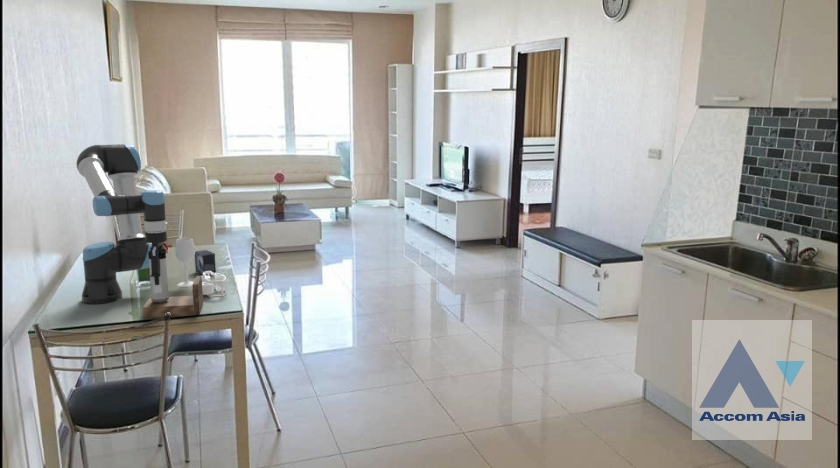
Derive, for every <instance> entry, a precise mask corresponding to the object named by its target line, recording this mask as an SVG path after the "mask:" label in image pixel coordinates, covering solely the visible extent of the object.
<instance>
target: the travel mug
mask: <svg viewBox="0 0 840 468" xmlns="http://www.w3.org/2000/svg"><path fill="white" fill-rule="evenodd" d="M160 255H161V258H160V276H161V284H162V293H154V284H153V277H151V275H152V269H151V254H150V251H148V256H149V267H148V269H149V285H150V298H151V300H152V301H153V302H164V301H167V300H168V299H169V297H170V295H169V281H168V280H169V278H168V265H167V252H166V249H165V248H163V251H162V252H161V253H158V257H159V256H160Z"/></svg>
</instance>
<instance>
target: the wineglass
mask: <svg viewBox="0 0 840 468" xmlns="http://www.w3.org/2000/svg"><path fill="white" fill-rule="evenodd" d="M174 252H175V257H176V259H177V260H178V261H179V262H180V263H182V264H183V265H184V271H185V272H184V274H185V279H184V281H181V282H179V283H177V285H176V286H177V288H188V287H189V288H190V287H193V286H192V284H193V282H194V281H191V280H189V274H188V266H189V265H188V264H190V263H191V262H192V261H193V260H195V252H196V247H195V242H194V240H193V238H191V237H181V238H180V237H179V238H177V239H176V241H175V250H174Z"/></svg>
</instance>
